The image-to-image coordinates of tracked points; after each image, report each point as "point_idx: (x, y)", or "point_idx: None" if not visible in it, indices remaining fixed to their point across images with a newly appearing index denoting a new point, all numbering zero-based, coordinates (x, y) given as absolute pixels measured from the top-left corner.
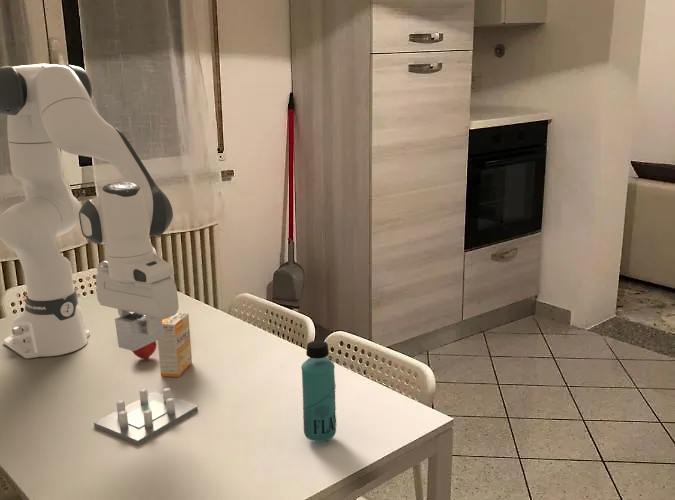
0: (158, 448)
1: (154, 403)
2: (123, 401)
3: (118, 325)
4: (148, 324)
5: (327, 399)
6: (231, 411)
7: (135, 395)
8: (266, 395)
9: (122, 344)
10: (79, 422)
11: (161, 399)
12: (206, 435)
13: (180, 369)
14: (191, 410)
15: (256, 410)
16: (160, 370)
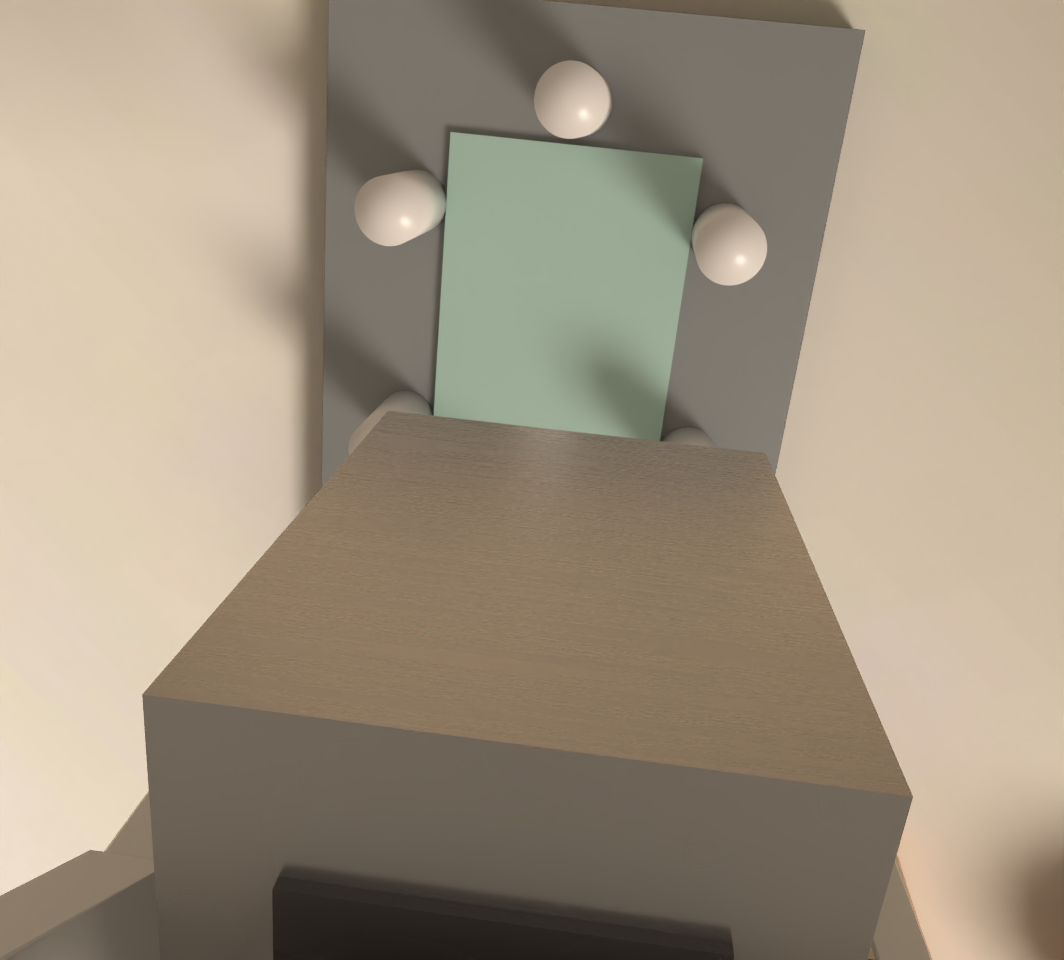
0: (191, 27)
1: None
2: (713, 270)
3: (738, 664)
4: (25, 900)
5: None
6: (148, 614)
7: (879, 557)
8: (118, 826)
9: (658, 463)
10: (1038, 33)
11: None
12: (58, 317)
13: None
14: None
15: (39, 673)
16: (897, 862)
